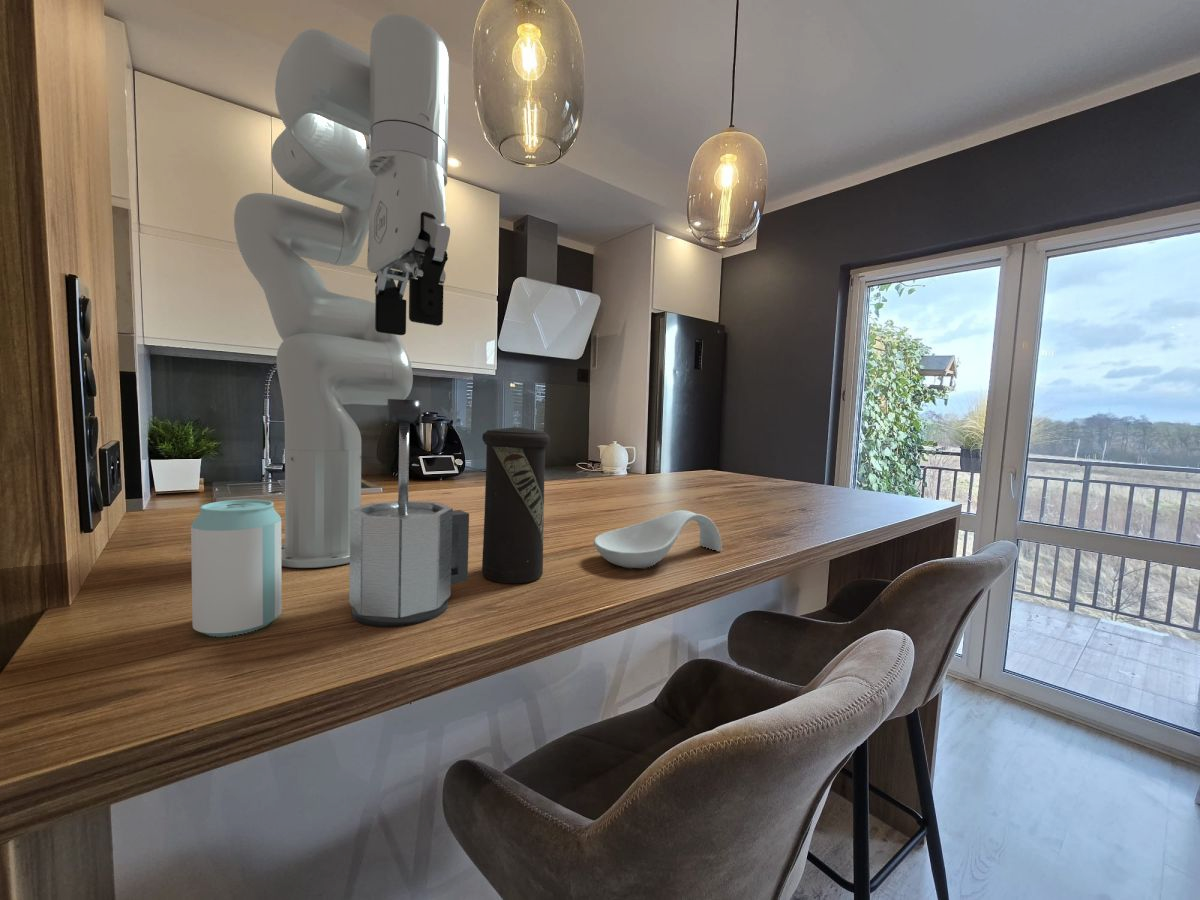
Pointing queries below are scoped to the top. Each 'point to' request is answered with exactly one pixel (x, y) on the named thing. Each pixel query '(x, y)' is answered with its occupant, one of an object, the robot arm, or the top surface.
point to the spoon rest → (653, 539)
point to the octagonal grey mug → (405, 562)
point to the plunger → (403, 453)
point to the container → (514, 505)
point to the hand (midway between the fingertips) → (407, 328)
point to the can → (235, 567)
